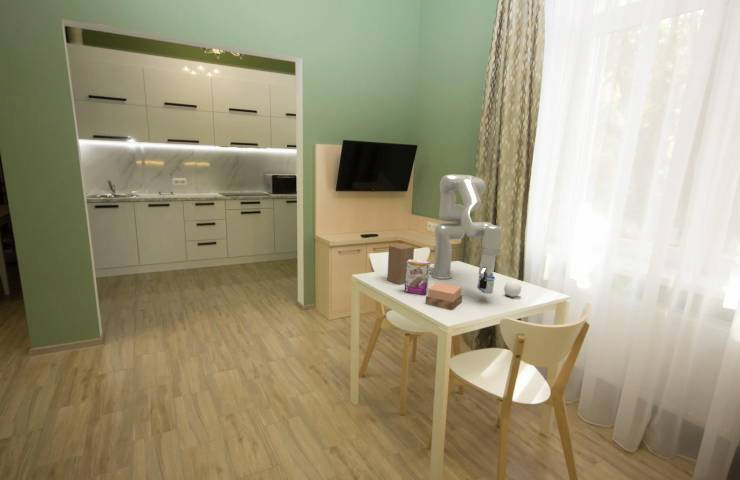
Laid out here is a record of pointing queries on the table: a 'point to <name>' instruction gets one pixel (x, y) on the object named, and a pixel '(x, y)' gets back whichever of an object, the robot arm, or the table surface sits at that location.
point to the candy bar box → (417, 277)
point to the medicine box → (489, 284)
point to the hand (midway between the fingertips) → (485, 285)
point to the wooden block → (398, 262)
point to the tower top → (444, 292)
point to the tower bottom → (444, 303)
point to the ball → (512, 288)
